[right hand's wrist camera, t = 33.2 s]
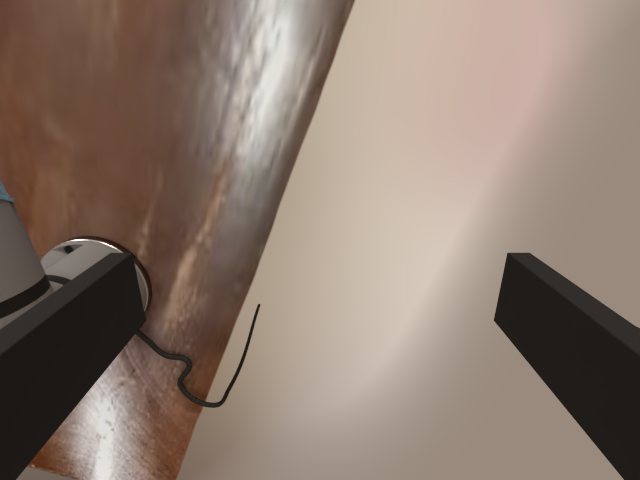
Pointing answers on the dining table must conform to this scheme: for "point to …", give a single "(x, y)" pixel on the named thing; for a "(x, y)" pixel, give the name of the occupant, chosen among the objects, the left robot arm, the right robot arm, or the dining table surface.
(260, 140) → the dining table surface
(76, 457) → the dining table surface
